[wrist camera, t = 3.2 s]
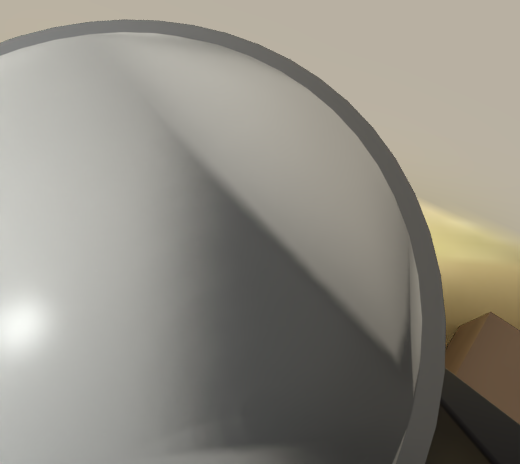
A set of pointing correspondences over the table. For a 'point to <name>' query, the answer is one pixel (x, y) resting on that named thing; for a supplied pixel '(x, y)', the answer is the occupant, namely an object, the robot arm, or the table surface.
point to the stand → (488, 361)
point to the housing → (204, 259)
